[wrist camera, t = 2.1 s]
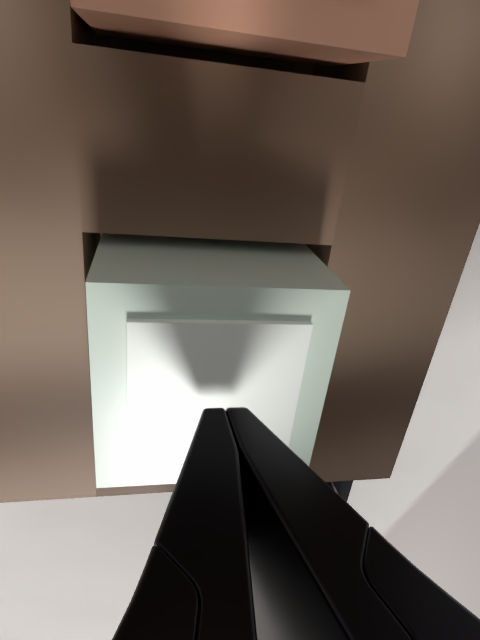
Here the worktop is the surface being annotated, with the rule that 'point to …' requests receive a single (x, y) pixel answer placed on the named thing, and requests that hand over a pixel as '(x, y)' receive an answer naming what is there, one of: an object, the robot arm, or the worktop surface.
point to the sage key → (204, 345)
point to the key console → (229, 211)
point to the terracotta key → (263, 26)
